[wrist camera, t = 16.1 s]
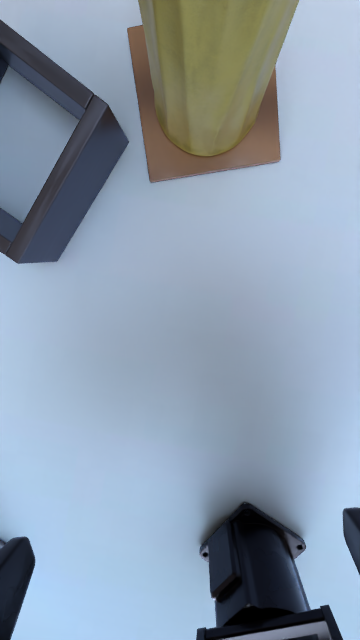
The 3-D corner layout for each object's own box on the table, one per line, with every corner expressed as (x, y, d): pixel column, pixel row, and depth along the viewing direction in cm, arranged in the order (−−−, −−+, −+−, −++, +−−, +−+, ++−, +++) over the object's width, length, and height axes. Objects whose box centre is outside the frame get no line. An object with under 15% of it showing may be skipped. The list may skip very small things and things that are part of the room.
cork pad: (278, 161, 17) (280, 159, 17) (150, 182, 18) (150, 181, 18) (269, 4, 16) (271, -3, 15) (128, 32, 16) (126, 27, 16)
